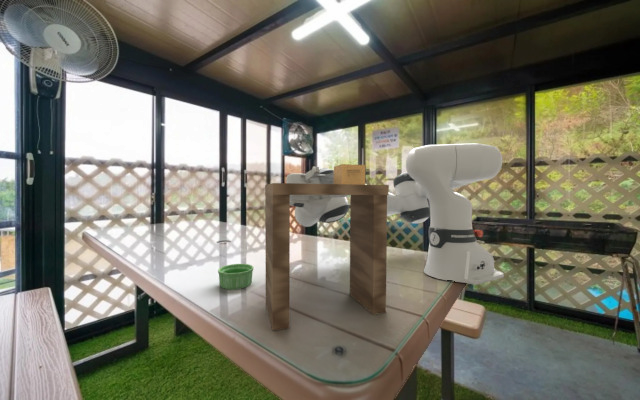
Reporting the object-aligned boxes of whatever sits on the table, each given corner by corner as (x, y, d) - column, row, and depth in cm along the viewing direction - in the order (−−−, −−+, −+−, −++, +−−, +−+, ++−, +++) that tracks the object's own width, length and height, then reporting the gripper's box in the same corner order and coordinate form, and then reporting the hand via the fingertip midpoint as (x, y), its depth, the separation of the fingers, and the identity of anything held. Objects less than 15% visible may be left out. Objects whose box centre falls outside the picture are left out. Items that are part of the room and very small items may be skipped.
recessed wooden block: (333, 187, 71) (333, 172, 71) (365, 184, 52) (365, 165, 52) (316, 187, 70) (316, 172, 70) (341, 184, 50) (341, 164, 50)
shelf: (359, 291, 63) (360, 186, 63) (387, 313, 52) (388, 185, 51) (265, 304, 56) (265, 185, 56) (273, 332, 45) (273, 183, 44)
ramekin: (223, 293, 62) (223, 275, 62) (214, 283, 70) (214, 267, 69) (258, 285, 68) (258, 269, 67) (246, 276, 75) (246, 261, 75)
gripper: (349, 204, 79) (369, 180, 68) (283, 205, 73) (292, 178, 61) (345, 187, 82) (363, 161, 70) (282, 186, 76) (290, 157, 64)
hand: (330, 169), depth 66 cm, fingers open, 6 cm apart
